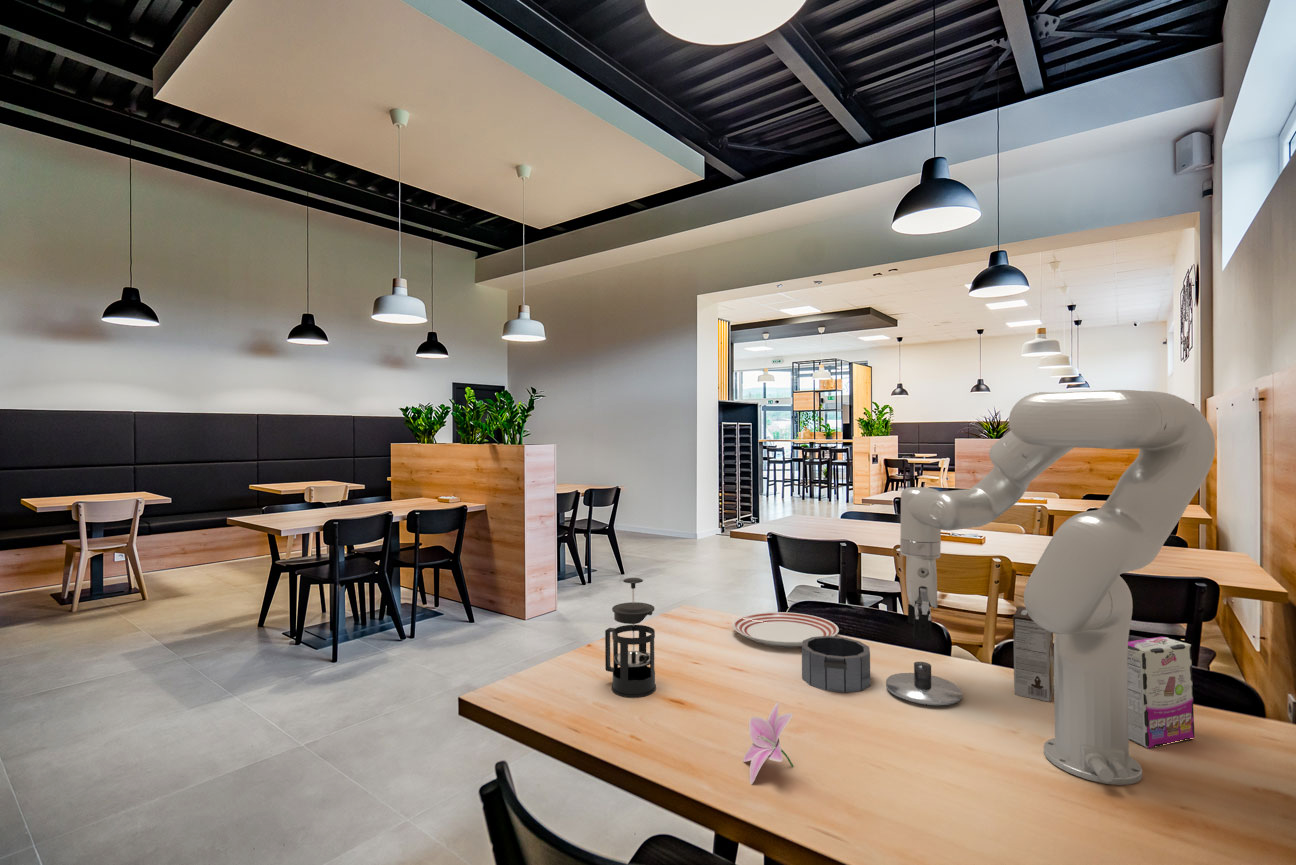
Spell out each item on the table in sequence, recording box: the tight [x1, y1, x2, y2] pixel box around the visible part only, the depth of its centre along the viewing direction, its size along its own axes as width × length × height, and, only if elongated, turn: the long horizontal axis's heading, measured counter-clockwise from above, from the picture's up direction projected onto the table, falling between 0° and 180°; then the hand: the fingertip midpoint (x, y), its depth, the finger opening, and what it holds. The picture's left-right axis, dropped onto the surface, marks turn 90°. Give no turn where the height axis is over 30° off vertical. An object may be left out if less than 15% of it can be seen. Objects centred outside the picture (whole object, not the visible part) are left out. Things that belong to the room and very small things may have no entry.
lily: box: [742, 701, 794, 785], centre depth 95 cm, size 12×12×10 cm
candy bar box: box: [1127, 636, 1196, 749], centre depth 104 cm, size 11×5×16 cm, turn 105°
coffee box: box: [1012, 606, 1054, 703], centre depth 124 cm, size 9×6×16 cm
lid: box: [885, 661, 963, 706], centre depth 123 cm, size 14×14×6 cm
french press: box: [604, 577, 657, 699], centre depth 127 cm, size 12×9×23 cm
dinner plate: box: [732, 611, 840, 649], centre depth 159 cm, size 27×27×3 cm
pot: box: [801, 635, 871, 694], centre depth 131 cm, size 17×14×7 cm
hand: (919, 631), depth 123 cm, fingers open, 9 cm apart
